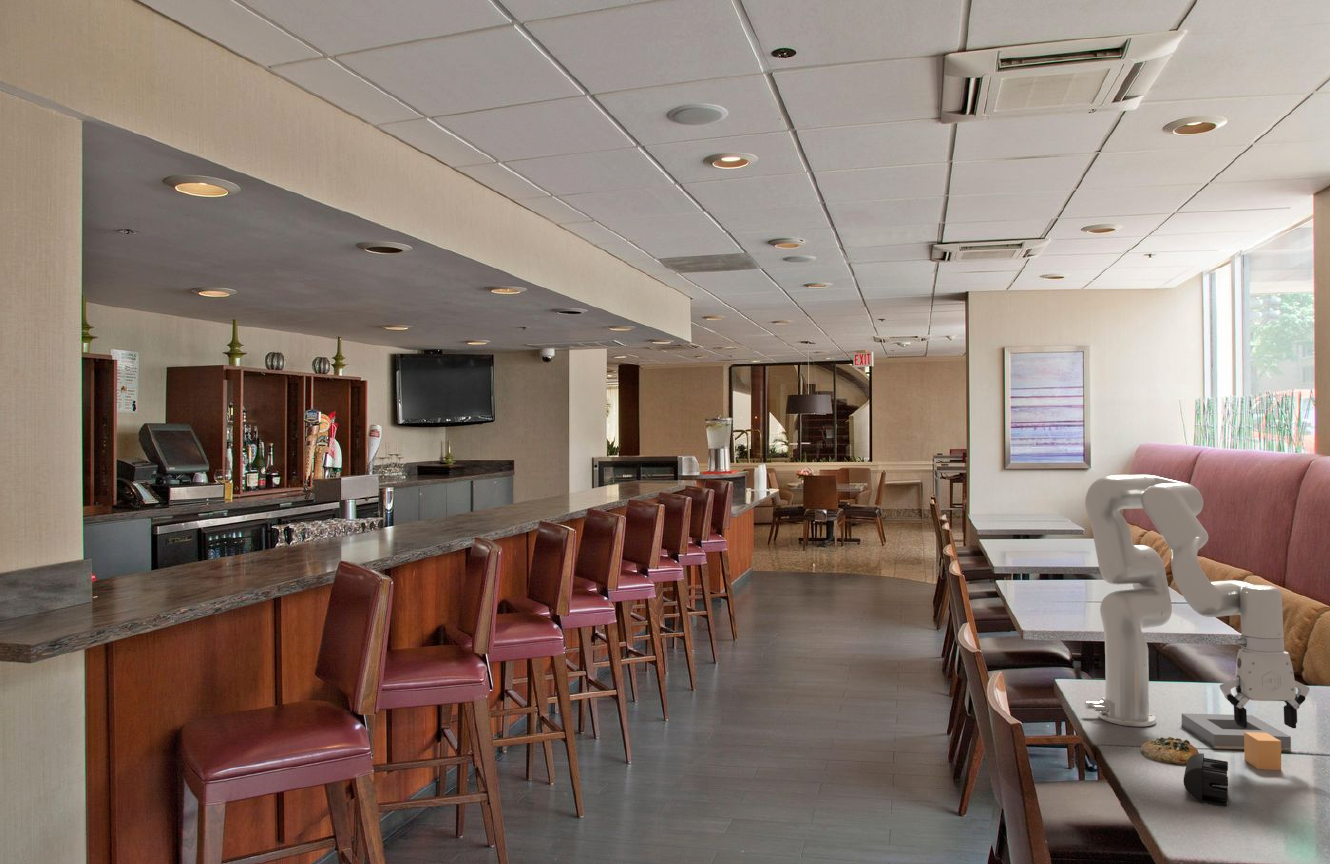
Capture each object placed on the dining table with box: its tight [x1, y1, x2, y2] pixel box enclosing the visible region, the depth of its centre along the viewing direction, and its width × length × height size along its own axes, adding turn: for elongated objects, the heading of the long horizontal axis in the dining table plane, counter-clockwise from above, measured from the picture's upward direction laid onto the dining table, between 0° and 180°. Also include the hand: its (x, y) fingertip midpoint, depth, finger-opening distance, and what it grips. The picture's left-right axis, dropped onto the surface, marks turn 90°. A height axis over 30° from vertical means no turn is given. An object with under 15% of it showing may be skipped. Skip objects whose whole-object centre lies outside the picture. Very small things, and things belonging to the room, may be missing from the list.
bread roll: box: [1140, 736, 1200, 766], centre depth 199 cm, size 11×11×5 cm
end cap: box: [1183, 752, 1229, 808], centre depth 177 cm, size 10×7×7 cm
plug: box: [1243, 732, 1282, 771], centre depth 194 cm, size 4×6×6 cm
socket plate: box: [1181, 713, 1292, 751], centre depth 212 cm, size 16×16×3 cm
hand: (1265, 726), depth 193 cm, fingers open, 9 cm apart
